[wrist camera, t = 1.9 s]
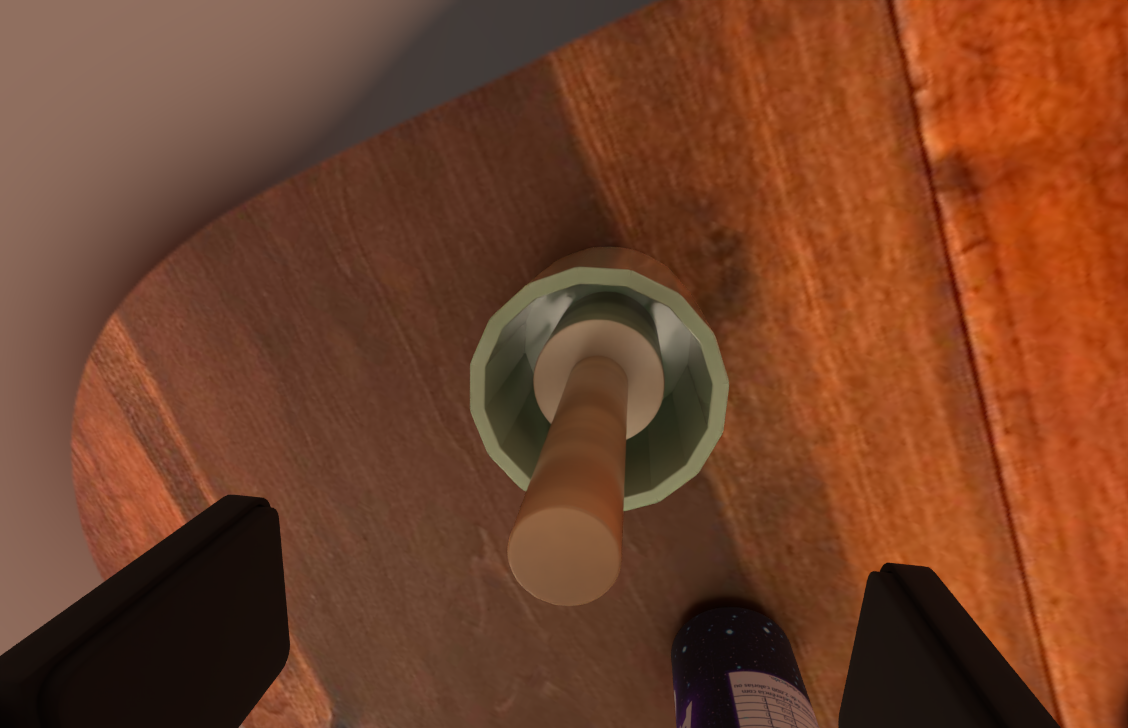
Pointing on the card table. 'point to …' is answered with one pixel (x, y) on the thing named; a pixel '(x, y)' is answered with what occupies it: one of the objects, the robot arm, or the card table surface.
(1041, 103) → the card table surface
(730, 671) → the beverage can
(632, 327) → the bottle brush
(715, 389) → the brush holder
